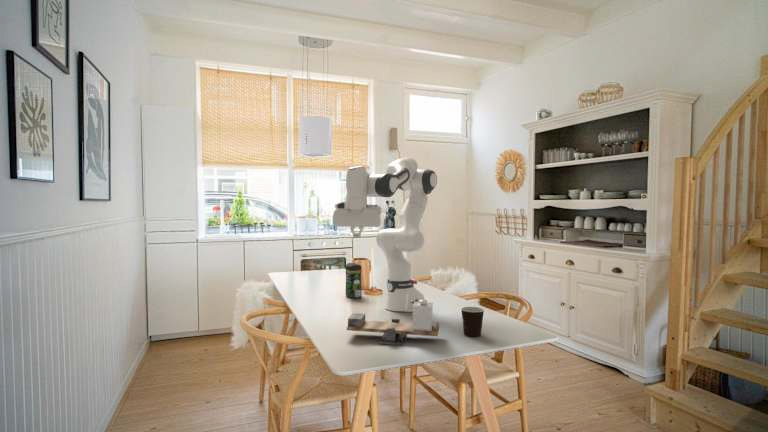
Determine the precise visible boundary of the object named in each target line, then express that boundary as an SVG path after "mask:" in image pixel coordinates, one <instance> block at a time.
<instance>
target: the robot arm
mask: <svg viewBox="0 0 768 432" xmlns="http://www.w3.org/2000/svg"><path fill="white" fill-rule="evenodd" d="M418 165H419V164H418V162H417V161H416V160H415V159H414V158H412V157H402V158H399V159H396V160H393V161H392V162H390V163H389V164H388V165H387V167H386V171H385V172H386V173H380V174H379V173H378V174H377V173H376V174H371V173H369V172H368V171H367V169H366V166H364V165H356V166H349V168H347V170H346V176H345V188H346V195H345V196H346V197H345V200H344V201H341V202H338V203H335V205H334V208H335V210H334V211H333V215H332V226H333V227H335V228H336V227H340V228H341V227H343V228H344V227H346V228H347V227H349V230H350V231H351V233H352V238H354V239H358V238H359V239H361V237H362V234H361V233H362V232H363V230H364V228H374V227H375V228H378V227H380V226H381V225H382V220H381V219H382V218H381V215H382V207H381V206H380V205H378V204H368V198H381V197H382V198H391V197H394V196H395V195H394V194H395V193H396V192H397V190H398V189H399V190H401V191H408V192H409V195H408V196H407V198H406V200H405V201H404V204H403V205H402V207H401V210H400V211H399V214H398V220H399V223H400V224H401V225H402V226H401V227H400V228H395V227H394V228H393V227H392V228H384V229H380V230H379V231H378V233H377V234H376V236H375V237H376V239H375V240H376V245H377V246H378V248H379V249H380V250H382V252H383V254H384V255H385V258H386V262H387V268H388V269H387V270H388V278H387V280H386V281H387V283H386V284H387V294H386V295H387V297H386V302H385V306H384V309H386V310H387V311H392V312H404V313H405V312H406V313H407V312H408V313H411V312H412V313H413V304H414V302H419V300H422V299H423V300H425V295H424V294H423V293H422V292H421V291H420V290H419V289H417V288H416V286H415V285H417V284H418V280H416V279H412V264H411V263H410V260H408V259H407V258H406V257H405V256H404V253H403V252H405V253H413V252H418V251H421V250H422V248H423V247H424V245H425V244H424V243H425V237H424V235H423V233H422V232H421V231H420V223H421V220H422V219H423V215H424V213H425V212H426V207H427V203H428V195H430V194H431V193H432V191H433V190H434V189H435V188H436V186H437V184H438V176H437V174H436V172H435V171H434V170H433V169H429V168H428V169H421V168H419V166H418ZM356 227H357V228H358V230H359V232H356V231H355V228H356ZM414 284H415V285H414Z"/></svg>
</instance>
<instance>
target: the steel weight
mask: <svg viewBox="0 0 768 432" xmlns="http://www.w3.org/2000/svg"><path fill="white" fill-rule="evenodd" d="M433 311H434V303H433V302H428V300H427V299H424V300H423V299H422V300H419V302H414V304H413V312H412V323H411V324H412V330H415V331H430V332H431V331H432V325H433V323H434V322H433V317H434V312H433Z"/></svg>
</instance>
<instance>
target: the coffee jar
mask: <svg viewBox="0 0 768 432" xmlns="http://www.w3.org/2000/svg"><path fill="white" fill-rule="evenodd" d="M345 296H346V297H348V298H349V299H358V298H362V265H360V264H359V263H355V262H348V263H346V265H345Z"/></svg>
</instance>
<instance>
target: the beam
mask: <svg viewBox="0 0 768 432" xmlns="http://www.w3.org/2000/svg"><path fill="white" fill-rule="evenodd" d="M387 328H395V334H405V335H412V336H413V335H414V336H427V337H439V331H440V320H436V324H432V331H431V332H430V331H415V330H412V323H409V322H400V323H396V322H392V321H377V320H366V313H360V312H359V313H358V312H357V313H356V312H352V313H351V314H350V315H349V317H348V318H347V326H346V331H351V332H352V331H354V332H366V333H381V334H384V333H387Z"/></svg>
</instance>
